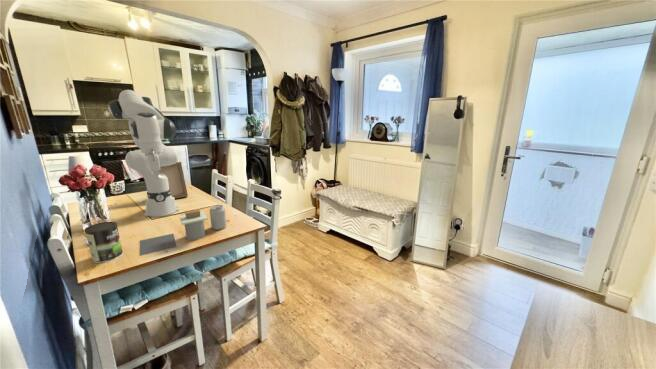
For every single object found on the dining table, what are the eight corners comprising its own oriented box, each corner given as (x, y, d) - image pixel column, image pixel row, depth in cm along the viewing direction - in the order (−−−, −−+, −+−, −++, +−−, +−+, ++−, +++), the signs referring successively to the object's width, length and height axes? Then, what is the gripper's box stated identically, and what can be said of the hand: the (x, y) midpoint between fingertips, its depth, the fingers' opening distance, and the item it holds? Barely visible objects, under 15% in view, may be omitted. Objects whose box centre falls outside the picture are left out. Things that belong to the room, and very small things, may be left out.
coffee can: (129, 250, 117) (122, 221, 113) (112, 263, 107) (105, 231, 103) (104, 250, 116) (97, 221, 112) (85, 263, 106) (77, 232, 102)
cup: (197, 241, 125) (195, 222, 122) (182, 239, 127) (179, 220, 124) (208, 233, 133) (206, 215, 130) (194, 232, 135) (192, 214, 132)
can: (217, 231, 135) (215, 210, 132) (208, 228, 139) (206, 207, 136) (229, 226, 142) (227, 205, 138) (220, 223, 145) (218, 203, 142)
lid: (179, 216, 128) (178, 210, 127) (203, 212, 134) (202, 206, 134) (182, 224, 120) (181, 217, 119) (207, 219, 126) (207, 213, 125)
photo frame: (188, 197, 187) (183, 163, 180) (152, 204, 172) (145, 167, 166) (182, 192, 197) (177, 160, 190) (148, 198, 183) (141, 163, 176)
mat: (139, 241, 124) (139, 240, 124) (173, 234, 132) (173, 233, 132) (139, 256, 112) (139, 255, 112) (176, 247, 119) (176, 246, 119)
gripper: (160, 150, 117) (165, 180, 121) (158, 145, 133) (163, 171, 137) (143, 151, 113) (149, 182, 117) (143, 146, 130) (148, 173, 134)
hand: (156, 176), depth 127 cm, fingers open, 8 cm apart
